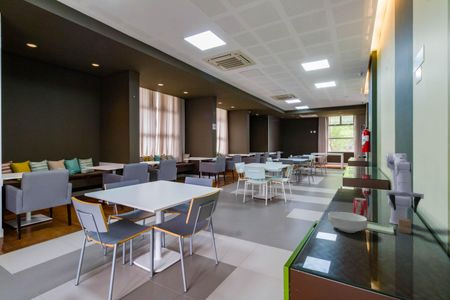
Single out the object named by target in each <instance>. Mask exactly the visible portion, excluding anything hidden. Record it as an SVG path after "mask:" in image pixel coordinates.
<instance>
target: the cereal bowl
mask: <svg viewBox="0 0 450 300" xmlns="http://www.w3.org/2000/svg"><path fill="white" fill-rule="evenodd" d="M327 219H328V222H329V223H330V225H332V227H334V228H336V229H338V230H339V231H341V232H343V233H344V232H345V233H350V234H354V233H356V232H359V231H362V230H365V229H364V228H365V227H366V225H367V221H368V218H367V219H366V218H365V217H363V216H361V215H357V214H353V212H345V211H330V212H328V213H327Z"/></svg>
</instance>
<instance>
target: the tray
mask: <svg viewBox="0 0 450 300" xmlns="http://www.w3.org/2000/svg"><path fill="white" fill-rule="evenodd" d="M363 230H366V231H371V232H376V233H381V234H385V235H391V236H394V235H395V231H394V226H393V225H390V224H383V223H378V222H373V221H368V220H367V225H366V227H365V228H364V229H363Z"/></svg>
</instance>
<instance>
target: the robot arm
mask: <svg viewBox="0 0 450 300" xmlns="http://www.w3.org/2000/svg"><path fill="white" fill-rule="evenodd" d="M385 163H386V168H387V169H390V172H391V177H392V178H391V180H392V190H386V192H385V194H386V196H387V204H388V206H390V218H389V219H388V220H389V224H392V225H398V222H399V218H404V219H408V210H409V208H411V207H412V198H413V213H414V214H417V212H418V211H417V210H418V207H419V203H420V202H421V200H423V199H424V198H425V194H424V193H418V192H412V175H411V174H412V170H413V166H412V162H411V161H408V155H407V153H396V152H395V153H394V152H387V153H386V156H385Z"/></svg>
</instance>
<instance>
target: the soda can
mask: <svg viewBox="0 0 450 300" xmlns="http://www.w3.org/2000/svg"><path fill="white" fill-rule="evenodd" d="M352 213H353V214H357V215H361V216H363V217H365V218H366V219H367V220H368V201H367V199H366V198H363V197H362V198H361V197H354V200H353V204H352Z"/></svg>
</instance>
